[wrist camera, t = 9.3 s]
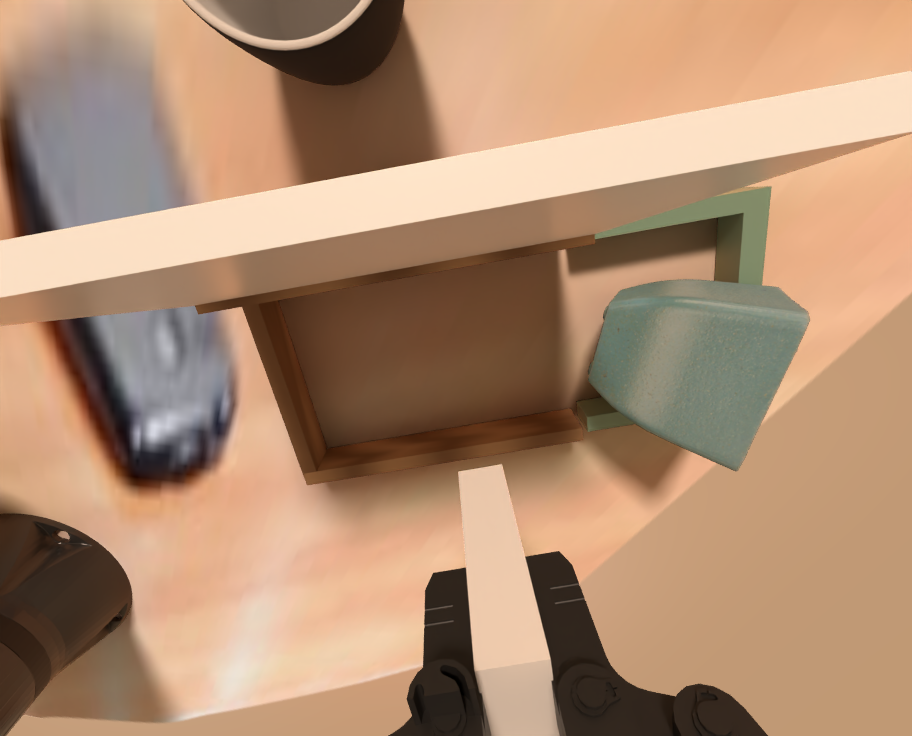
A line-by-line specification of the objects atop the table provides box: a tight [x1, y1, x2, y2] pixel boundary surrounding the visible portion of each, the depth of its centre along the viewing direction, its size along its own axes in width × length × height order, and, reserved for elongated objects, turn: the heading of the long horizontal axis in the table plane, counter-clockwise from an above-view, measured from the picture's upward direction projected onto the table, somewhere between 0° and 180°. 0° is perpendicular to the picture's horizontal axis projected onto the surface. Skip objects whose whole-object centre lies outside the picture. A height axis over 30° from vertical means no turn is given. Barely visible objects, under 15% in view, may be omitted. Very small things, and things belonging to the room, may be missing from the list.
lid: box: [0, 71, 912, 326], centre depth 13 cm, size 20×14×1 cm
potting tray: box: [576, 186, 771, 432], centre depth 29 cm, size 12×14×2 cm
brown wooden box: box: [195, 234, 595, 485], centre depth 27 cm, size 20×15×8 cm
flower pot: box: [588, 279, 810, 471], centre depth 26 cm, size 9×9×9 cm
